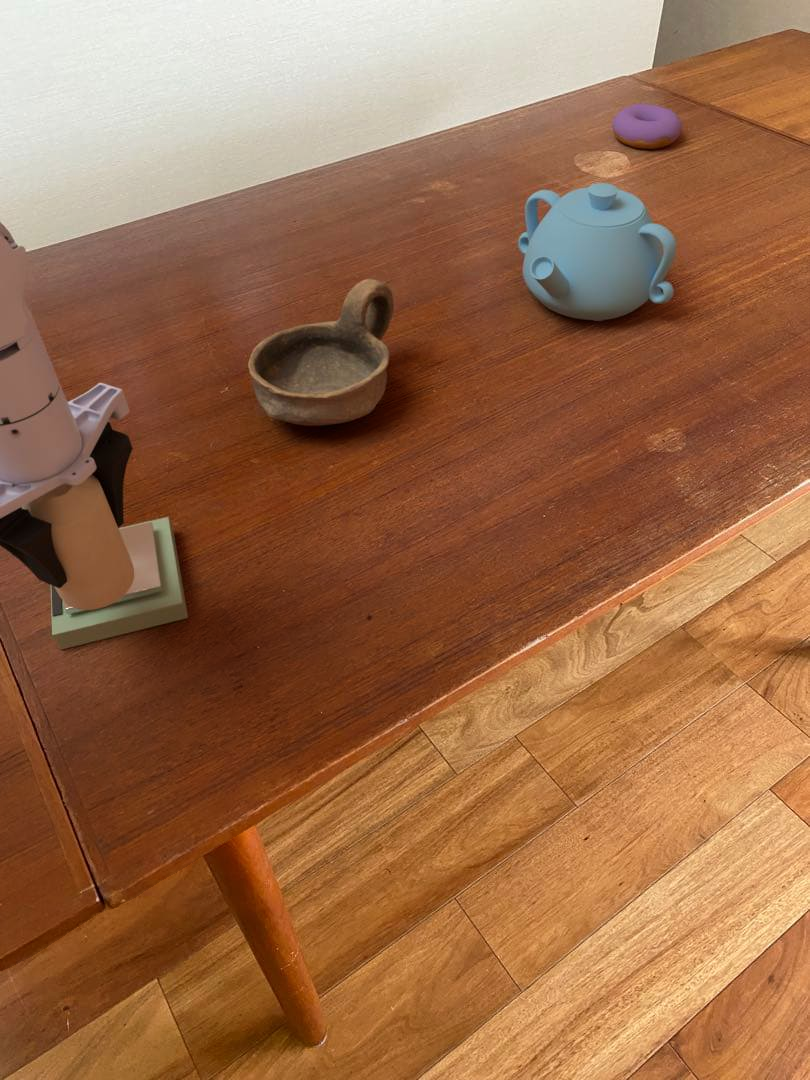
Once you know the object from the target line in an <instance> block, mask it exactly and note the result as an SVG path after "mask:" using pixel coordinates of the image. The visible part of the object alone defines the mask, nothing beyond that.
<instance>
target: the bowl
mask: <svg viewBox="0 0 810 1080" xmlns="http://www.w3.org/2000/svg"><path fill="white" fill-rule="evenodd" d="M394 305H395V304H394V296H393V292H392V289H390V287H389V286H388V285H387V284H385V283H384V282H382V281H380V280H378V279H374V278H366V279H363V280H360V281H359V282H358V283H356V284H355V285H354V286H353V287H352V288H351V289H350V291H349V292H348V293H347V295H346V297H345V298H344V301H343V304H342V308H341V312H340V315H339V318H338V319H337V320H333V321H332V320H331V321H330V320H329V321H322V322H315V323H307V324H300V325H297V326H293V327H290V328H287V329H283V330H280V331H277V332H275V333H272V334H271V335H269V336H268V337H266V338H264V339H263V340H261V341H260V342H259V343H258V344H256V346H255V347H254V348H253V349H252V351H251V354H250V357H249V359H248V364H247V367H248V372H249V375H250V377H251V379H252V386H253V391H254V394H255V397H256V399H257V401H258V404H259V405H260V407H261V408H262V410H263V411H264V412H265V414H266V415H267V416H268V417H269V418H271V419H272V420H277V421H281V422H286V423H289V424H293V425H299V426H309V427H311V426H313V427H314V426H328V425H329V426H330V425H336V424H343V423H348V422H351V421H354V420H357V419H360V418H363V417H365V416H367V415H369V414H370V413H372V411H374V410H375V408H376V406H377V404H378V403H379V402H380V401H381V399H382V398H383V396H384V394H385V391H386V387H387V382H388V381H387V379H388V373H387V372H388V371H387V368H388V365H389V362H390V357H391V356H390V349H389V348H388V346H387V345H386V344H385V342H383V341H382V340H383V338H384V336H385V334H386V333H387V331H388V329H389V327H390V324H391V320H392V319H393V315H394V307H395V306H394Z"/></svg>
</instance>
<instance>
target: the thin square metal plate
mask: <svg viewBox="0 0 810 1080" xmlns="http://www.w3.org/2000/svg"><path fill="white" fill-rule="evenodd" d="M119 531H120V534H121V536H122V538H123V541H124V543H125V546H126V548H127V551H128V553H129V556H130V558H131V561H132V564H133V567H134V580H133V583H132V585H131V587H130V589H129V590H128V591H127V592H126V594H125V595H123V596H122V597H121V598H120V599H119V600H117V601H116V602H114V603H117V602H121V601H125V600H130V599H134V598H138V597H142V596H146V595H150V594H154V593H158V592H162V591H163V587H162V581H161V574H160V567H159V560H158V553H157V547H156V540H155V533H154V527H153V524H152V522H149V523H145V524H140V525H136V526H132V527H127V528H123V529H119ZM112 604H113V603H112ZM64 610H65V612H66V613H67V615H68V614H72V613H76V612H80V611H84V610H81V609H76V608H73V607H71V606H69V605H67V604H66V603H65V602H64Z"/></svg>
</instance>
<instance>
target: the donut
mask: <svg viewBox="0 0 810 1080" xmlns="http://www.w3.org/2000/svg"><path fill="white" fill-rule="evenodd" d="M611 125H612V126H611V128H612V132H613V135H614V137H615V138H616V139H617V140H618V141H619V142H621V143H622V144H623V145H626V146H629V147H632V148H635V149H636V148H637V149H645V150H652V149H653V150H654V149H661V148H665V147H667V146H669V145H671V144H673V143H674V142H675V141H676V140H677V139H678V137H679V136H680V134H681V133H682V122H681V119H680V117H679V115H677V113H675V112H674V111H673V110H671V109H669V108H666V107H663V106H661V105H657V104H651V103H636V104H631V105H629V106H626V107H625V108H623V109H621V110H619V111H618V112H617V113H616V114H615V116H614V118H613V120H612V124H611Z"/></svg>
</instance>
